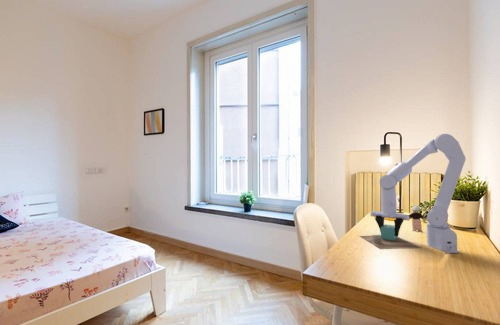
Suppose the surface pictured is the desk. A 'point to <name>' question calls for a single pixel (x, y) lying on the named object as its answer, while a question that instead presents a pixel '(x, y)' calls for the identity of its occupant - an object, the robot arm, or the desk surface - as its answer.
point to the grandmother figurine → (416, 219)
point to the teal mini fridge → (388, 232)
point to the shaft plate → (388, 242)
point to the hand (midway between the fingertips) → (389, 234)
